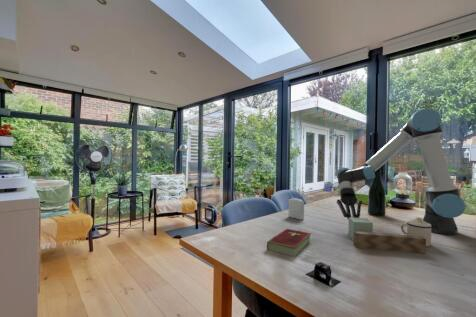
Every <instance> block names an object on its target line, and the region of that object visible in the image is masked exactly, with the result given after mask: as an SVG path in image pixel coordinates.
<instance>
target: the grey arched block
mask: <svg viewBox="0 0 476 317" xmlns="http://www.w3.org/2000/svg"><path fill="white" fill-rule="evenodd" d="M288 217H289V218H292V219H297V220H300V221H301V220H304V219H305V202H304V200H303V199H301V198H298V197H297V198H295V197H294V198H289V199H288Z"/></svg>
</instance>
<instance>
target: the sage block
mask: <svg viewBox="0 0 476 317" xmlns="http://www.w3.org/2000/svg"><path fill="white" fill-rule="evenodd" d="M352 217H353V216H352ZM352 217H349V221H348V232H347V233H348V234H347V235H348V236H349V238H350V239H351V240H352V241H353V242H354V231H359V232H371V233H374V232H373V231H374V230H373V224H374V223H373V222H372V221H371V220H370V219H368V218H366V217H365V218H364V217H359V218H352Z"/></svg>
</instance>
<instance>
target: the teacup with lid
mask: <svg viewBox="0 0 476 317" xmlns="http://www.w3.org/2000/svg"><path fill="white" fill-rule="evenodd" d="M404 227H406V231H405V229H404ZM431 228H432V225H431V224H429V223H426V222H425V221H423V218H422V217H421V216H418V217H415V218H414V219H411V220H407V221H406V223H402V224H401V225H400V230H401V232H402V233H403V235H410V236H422V237H424V238H425V239H426V247H431V245H432V232H431Z"/></svg>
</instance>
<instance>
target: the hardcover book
mask: <svg viewBox="0 0 476 317" xmlns="http://www.w3.org/2000/svg"><path fill="white" fill-rule="evenodd" d="M311 235H312V233H311V232H308V231H307V232H306V231H301V230H296V229H291V228H285V229H284V230H283V231H281V232H280V233H278V234H277V235H275V236H273V237H272V238H270V239H269V240H267V243H266V250H268V251H273V252H276V253H281V254H284V255H288V256H291V257H296V256H297V254H299V253H300V252H301V250H303V248H305V246H306V245H308V244H309V243H310V241H311Z"/></svg>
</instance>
